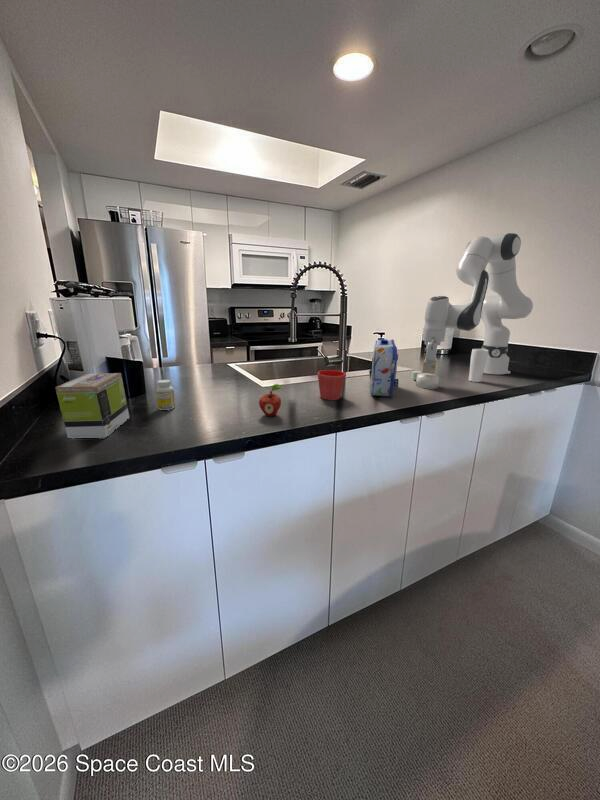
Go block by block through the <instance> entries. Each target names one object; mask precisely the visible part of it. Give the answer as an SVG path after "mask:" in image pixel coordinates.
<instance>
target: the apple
mask: <svg viewBox="0 0 600 800" xmlns="http://www.w3.org/2000/svg"><path fill="white" fill-rule="evenodd" d="M281 388H282V384H278V383H273V385H272V386H271V390H269V393H267V394H263V395H262V396H261V397H260V398H259V401H258V405H259V408H260V409H261V411H262V413H264V415H265V416H267V417H275V416H276V415H277V414H278V412H279V410H280V408H281V405H282V401H281V397H280V396H279V395H278V394H276V393H273V391H277V390H280V389H281ZM274 415H275V416H274Z"/></svg>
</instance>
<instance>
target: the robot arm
mask: <svg viewBox="0 0 600 800" xmlns="http://www.w3.org/2000/svg"><path fill="white" fill-rule="evenodd" d="M521 245H522V242H521V237H520V236H519V235H518V234H517V233H512V232H510V233H509V232H508V233H503V234H502V233H501V234H500V233H499V234H492V235H489V236H488V235H487V236H477V237H475V238H473V239H472V240H470V241H469V242H468V243H467V245H466V246H465V247H466V248H465V250H464V252H463V253H462V255H461V257H460V259H459V260H458V263H457V266H456V271H455V272H456V276H457V279H459V280H460V281H461V282H462V283H464V284H465V285H468V286H471V287H472V288H473V290H472V292H471V295H470V300H469V302H468V303H467V304H463V305H462V304H461V305H460V304H452V303H450V298H449V296H445V295H439V296H432V297H431V298H429V299H428V301H427V303H426V308H425V313H424V314H425V315H424V326H423V328H422V335H421V336H422V337H421V341H424V345H426V354H425V360H426V361H427V370H431V367H432V363H433V362H434V361H435V360H436V357H437V350H438V346H441V342H445V338H446V331H447V329H454V330H461V331H465V332H467V331H469V332H470V331H472V330H473V329H475V328H476V327H477V326H479V324H480V323H481V321H482V322H483V324H484V339H483V344H482V346H481V348H480V349H486V350H489V351H488V358H487V361H486V365H485V368H484V372H483V374H487V375H507V374H508V375H509V374H511V371H510V370H509V369H508V368H509V362H510V357H509V356H508V355H507V353H508V351H509V346H508V345H509V341H510V336H511V331H510V329H509V328H508V327H507V326H505V325H504V324H503V322H502V319H504V320H506V319H507V320H519V319H524V318H527V317H528V316H529V315H530V314H531V312H532V310H533V307H534V304H533V300H532V299H531V297H528V296H527V295H525V293H523V292H522V291H521V289H520V287H519V285H518V281H517V272H516V271H517V269H516V256H517V255H518V253H519V251H520V248H521ZM487 266H488V267H487ZM486 268H487V269H488V271H487V270H486ZM488 287H489V289H490V290H491V291H492V292H494V293H496V294H497V295H490V296H486V293H487V291H488V290H487V289H488ZM481 319H482V320H481Z"/></svg>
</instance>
